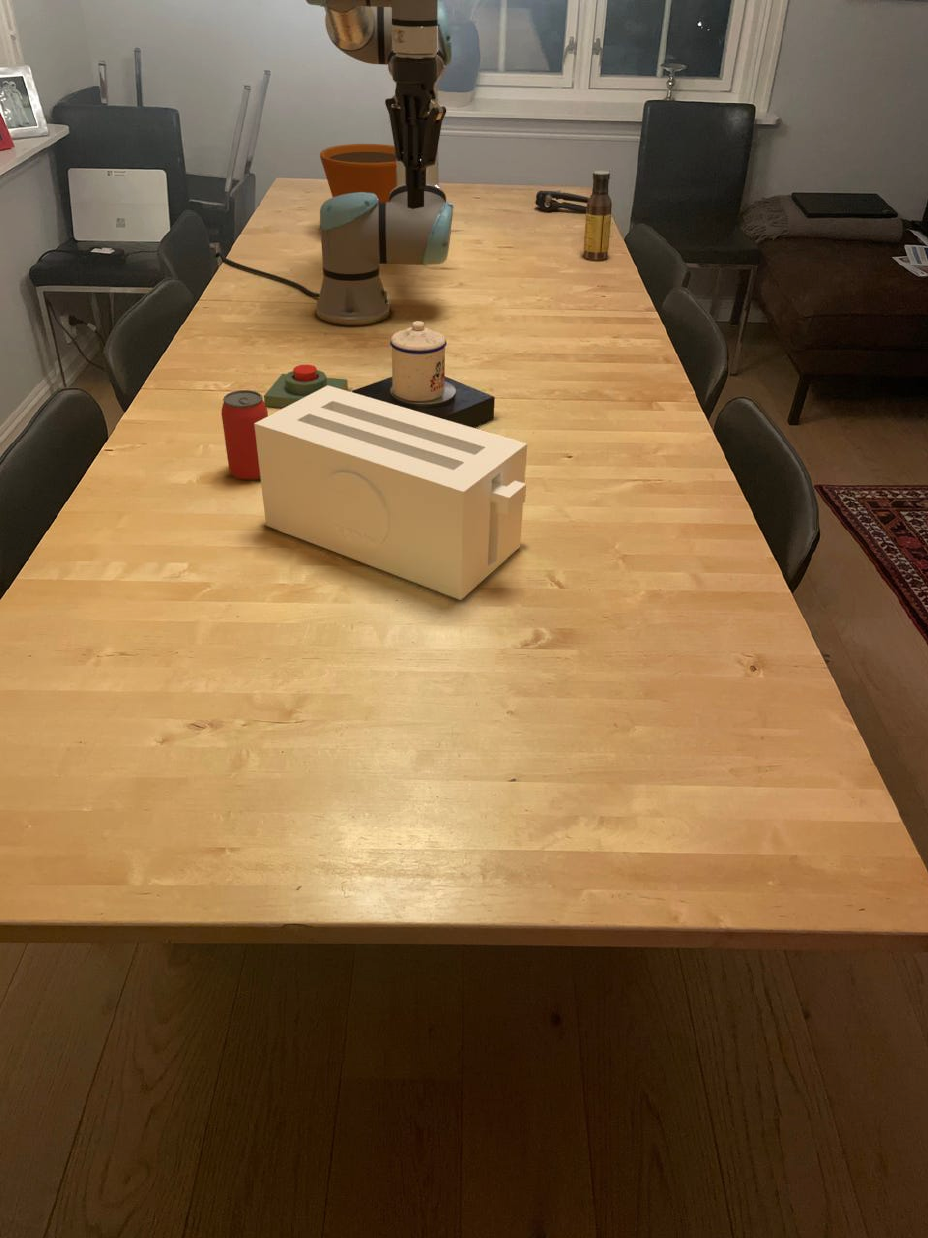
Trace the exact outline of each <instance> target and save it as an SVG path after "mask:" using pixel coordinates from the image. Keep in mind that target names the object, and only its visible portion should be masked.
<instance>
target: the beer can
mask: <svg viewBox="0 0 928 1238" xmlns="http://www.w3.org/2000/svg"><path fill="white" fill-rule="evenodd" d="M222 400H223V403H222V407H221V412H220V413H221V420H222V427H223V435H224V442H225V443H224V444H225V449H226V450H225V451H226V457H227V464H228V471H229V473H230V475H232V476H233V477H234V478H237V479H239V480H243V481H255V480H261V477H260V468H259V460H258V451H257V442H256V434H255V425H254V423H256V422H258V421H260V420H262V419H264V418H266V417H268V416H269V412H268V408H267V407H266V406H265V402H264V399H263V395H262V394H261V393H260V392H257V391H255V390H250V389H239V390H233V391H231V392H228V393H226V394H225V395H224V396H223V399H222Z"/></svg>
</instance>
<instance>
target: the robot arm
mask: <svg viewBox="0 0 928 1238" xmlns="http://www.w3.org/2000/svg"><path fill="white" fill-rule="evenodd" d="M305 1H306V4H308V5H310V6H318V7H321V8H322V7H323V8H324V11H325V16H324V24H325V31H326V33H327V35H328V37H329V40H330V41H331V43H332V44H333V45H334V46H335V47H336V48H337V49H338V50H339V51H341V52H342V53H343V54H344V55H346V56H348V57H350V58H352V59H355V60H357V61H359V62H362V63H366V64H370V65H384V66H385V65H387V70H388V73H389V75H390V76H391V77H392V78H391V79H392V81H393V82H394V83H395V88H394V89H395V90H394V95H393V96H392V97H390V98H385V100H384V104H385V107H386V110H387V113H388V116H389V123H390V127H391V135H392V139H393V146H394V147H395V153H396V187H395V188H394V189H393V190H392V191H391V192H390V194H389V202H388V203H380V202H378V198H377V196H376V195H375V194H373V193H366V192H358V193H349V194H344V195H339V196H336V197H331V198H328V199H327V200H325V201H324V202H323V203H322V204H321V205H320V209H319V225H318V229H319V230H320V239H321V240H320V243H321V257H322V258H321V259H322V281H321V286H320V290H319V292H318V293H317V292H314V291H311V290H309V289H307V288H306V287H305V286H303V285H301V284H299V283H297V282H295V281H293V280H290V279H288V278H285V277H281V276H279V275H276V274H272V273H269V272H266V271H263V270H259V269H257V268H253V267H249V266H247V265H243V264H241V263H238V262H235V261H233V260H231V259H228V258H226V257H225V255H223V253H222V252H221V251H218V252H216V253H215V255H214V258H219V257H220V259H221V260H222V261H223V262H225V263H227V264H229V265H231V266H234V267H237V268H239V269H242V270H244V271H248V272H251V273H253V274H258V275H261V276H264V277H267V278H271V279H274V280H278V281H279V282H282V283H284V284H285V283H286V284H288V285H291V286H293V287H295V288H297V289H300V291H302V292H304V293H305V294H307V295H309V296H311V297H315V298H318V299H317V302H316V315H317V317H318V318H319V319H320V320H322V321H324V322H326V323H329V324H334V325H339V326H365V325H372V324H375V323H376V324H377V323H379V322H382V321H384V320H385V319H387V318H388V317H389V315H390V302H389V300H388V291H387V290H385V288H384V285H383V282H382V279H381V275H380V265H401V266H402V265H405V266H407V265H408V266H409V265H410V266H411V265H412V266H414V265H415V266H423V267H426V266H429V265H442V264H443V263H445V262H446V261H447V259H448V256H449V250H450V243H451V233H452V224H453V218H454V217H453V215H454V205H453V204H452V203H450V202H447V195H446V192H445V191H444V190H443V189H442V188H441V187H439V142H440V137H441V131H442V125H443V124H442V123H443V121H444V118H445V116H446V114H447V107H446V106H445V105H444V106H440V104H439V102H438V101H439V97H438V94H439V92H438V90H439V88H438V81H439V80H440V79H441V78H442V77H443V76H444V74H445V69H446V67H449V66H450V65H451V64H452V63H451V62H452V52H453V51H452V39H451V25H450V19H449V12H448V9H447V6H446V5H445V3H444V2H443V1H441V0H305Z"/></svg>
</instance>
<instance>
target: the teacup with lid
mask: <svg viewBox="0 0 928 1238" xmlns="http://www.w3.org/2000/svg"><path fill="white" fill-rule="evenodd" d="M389 345H390V347H391V375H392V376H391V377H392V381H393V392H394V394H395V395H396V396H398V397H399V398H402V399H405V400H409V401H429V400H433V399H436V398H438V397H440V396H441V395H442V394H443V393H444V384H445V376H446V375H445V371H446V369H445V367H446V346H447V340H446V338H445V336H444V335H443V333H441V332H439V331H436V330H433V329H431V328H429V327H426V326H425V323H424V322H423V321H421V320H416V321H413V322H412V324H411V326H410V327H407V328H406V329H403V330H399V331H397V332H395V333H394V334H393V335H392V336H391V337H390V341H389Z"/></svg>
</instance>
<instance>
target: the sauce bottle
mask: <svg viewBox="0 0 928 1238" xmlns="http://www.w3.org/2000/svg"><path fill="white" fill-rule="evenodd" d="M610 179H611V173H610V171H607V170H595V171H593V172H592V190H591V191H592V193H591V194H590V196H589V197H588V198H589V199H588V202H587V203H586V207H587V208H586V213H585V223H584V237H583V239H584V240H583V258H585V259H586V260H589V261H603V260H605V259H607V258H608V254H609V253H608V252H609V248H610V238H611V237H610V235H611V225H612V205H613V203H612V199H611V197H610V195H609V182H610Z"/></svg>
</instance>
